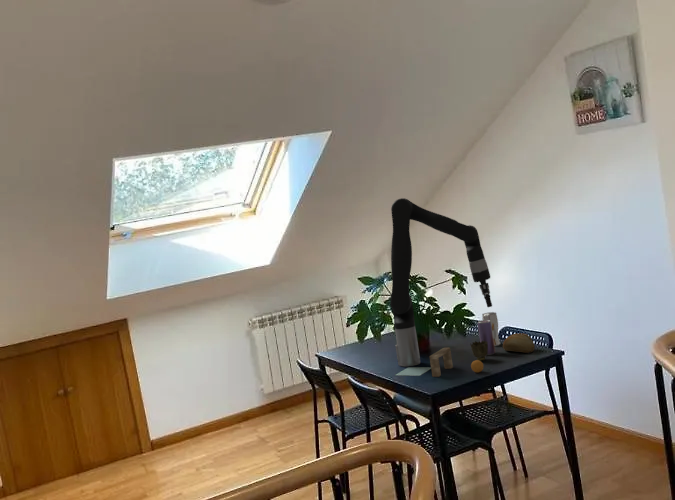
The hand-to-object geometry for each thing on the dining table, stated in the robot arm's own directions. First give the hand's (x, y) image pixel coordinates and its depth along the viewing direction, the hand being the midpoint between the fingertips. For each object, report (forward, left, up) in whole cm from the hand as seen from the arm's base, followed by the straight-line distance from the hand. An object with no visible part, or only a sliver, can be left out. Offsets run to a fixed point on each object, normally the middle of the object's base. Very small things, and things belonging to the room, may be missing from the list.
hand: (489, 305), depth 321 cm
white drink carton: (-9, +18, -23) cm, 31 cm away
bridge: (-14, -27, -23) cm, 38 cm away
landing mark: (-28, -27, -23) cm, 45 cm away
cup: (-4, -9, -23) cm, 25 cm away
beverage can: (-5, +2, -23) cm, 23 cm away
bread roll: (+8, +6, -23) cm, 25 cm away
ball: (+2, -27, -20) cm, 33 cm away
